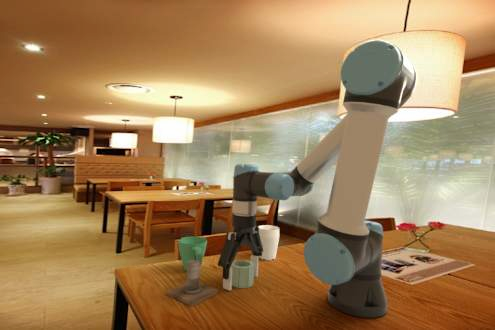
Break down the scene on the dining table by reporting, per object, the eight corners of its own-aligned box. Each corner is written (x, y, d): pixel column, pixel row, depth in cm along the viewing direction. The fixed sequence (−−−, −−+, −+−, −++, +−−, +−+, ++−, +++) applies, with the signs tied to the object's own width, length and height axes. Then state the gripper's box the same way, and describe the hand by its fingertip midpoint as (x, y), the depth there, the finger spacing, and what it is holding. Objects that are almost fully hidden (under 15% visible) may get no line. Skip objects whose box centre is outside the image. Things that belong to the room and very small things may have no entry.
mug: (174, 265, 103) (175, 237, 103) (201, 262, 107) (202, 235, 107) (183, 281, 90) (184, 249, 90) (213, 277, 94) (214, 246, 94)
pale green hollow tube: (257, 282, 91) (257, 263, 91) (243, 289, 86) (244, 269, 86) (239, 276, 95) (240, 258, 95) (225, 283, 90) (226, 264, 90)
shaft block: (217, 293, 83) (218, 261, 83) (191, 306, 75) (192, 271, 75) (193, 283, 89) (194, 254, 89) (166, 294, 81) (167, 262, 81)
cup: (278, 254, 120) (279, 225, 120) (278, 262, 111) (279, 230, 111) (256, 253, 121) (257, 224, 121) (255, 260, 112) (256, 229, 112)
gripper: (256, 207, 103) (254, 267, 103) (207, 217, 82) (204, 291, 83) (275, 210, 98) (272, 273, 99) (227, 221, 78) (224, 300, 78)
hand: (241, 281), depth 91 cm, fingers open, 13 cm apart
